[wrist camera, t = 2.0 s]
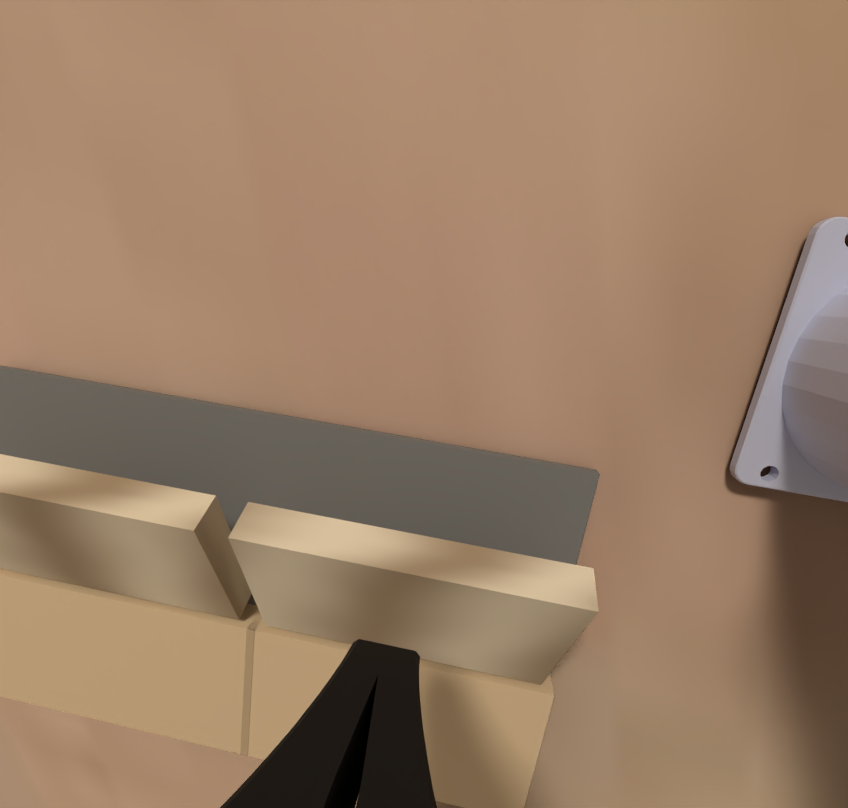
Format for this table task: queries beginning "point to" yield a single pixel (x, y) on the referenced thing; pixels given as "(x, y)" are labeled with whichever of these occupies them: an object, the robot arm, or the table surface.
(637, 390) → the table surface
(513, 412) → the table surface
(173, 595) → the plank
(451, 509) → the floor base
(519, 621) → the plank
